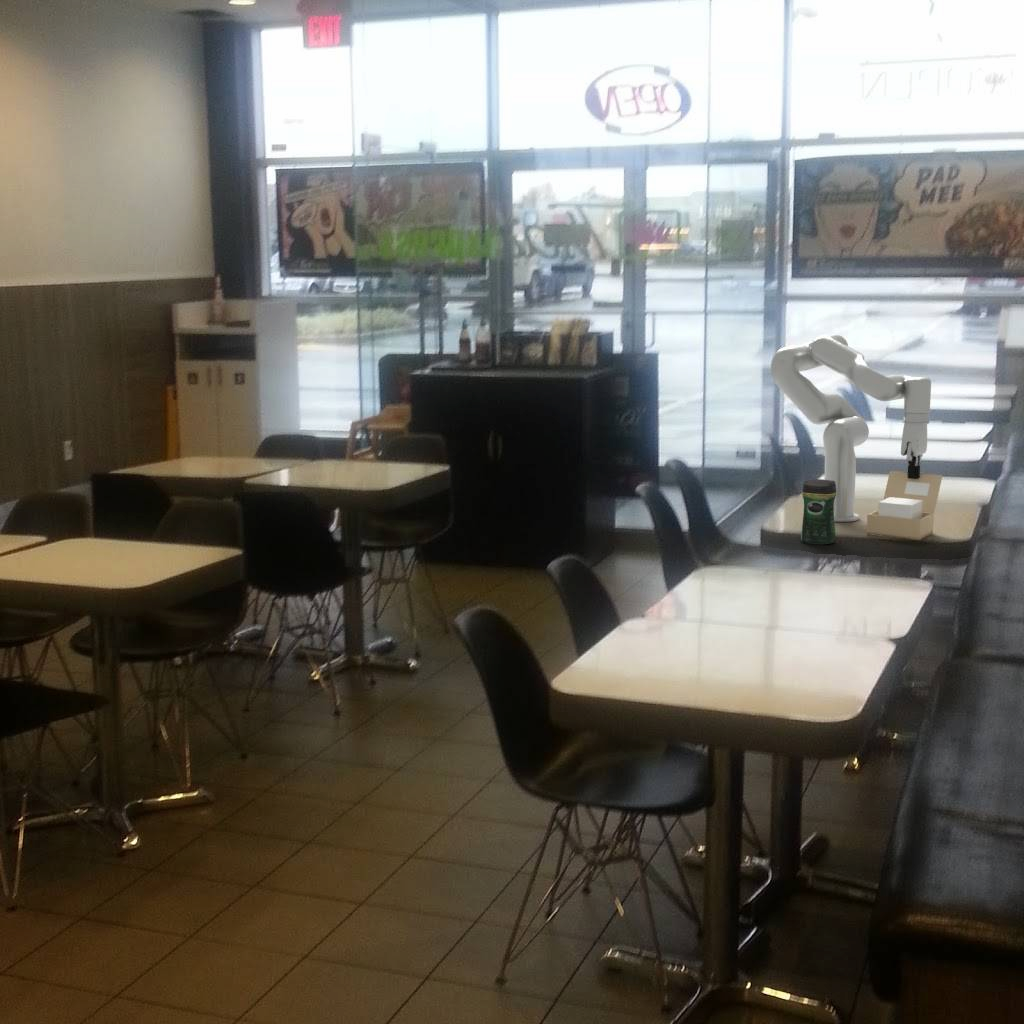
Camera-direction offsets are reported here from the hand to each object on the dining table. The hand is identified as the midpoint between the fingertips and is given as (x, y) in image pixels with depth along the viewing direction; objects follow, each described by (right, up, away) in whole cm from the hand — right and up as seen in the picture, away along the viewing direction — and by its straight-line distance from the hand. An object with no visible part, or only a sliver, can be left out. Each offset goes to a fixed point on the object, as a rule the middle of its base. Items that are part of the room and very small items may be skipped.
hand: (913, 478), depth 405 cm
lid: (-1, -4, 0) cm, 4 cm away
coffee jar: (-33, -19, -15) cm, 41 cm away
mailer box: (-6, -17, -5) cm, 18 cm away
